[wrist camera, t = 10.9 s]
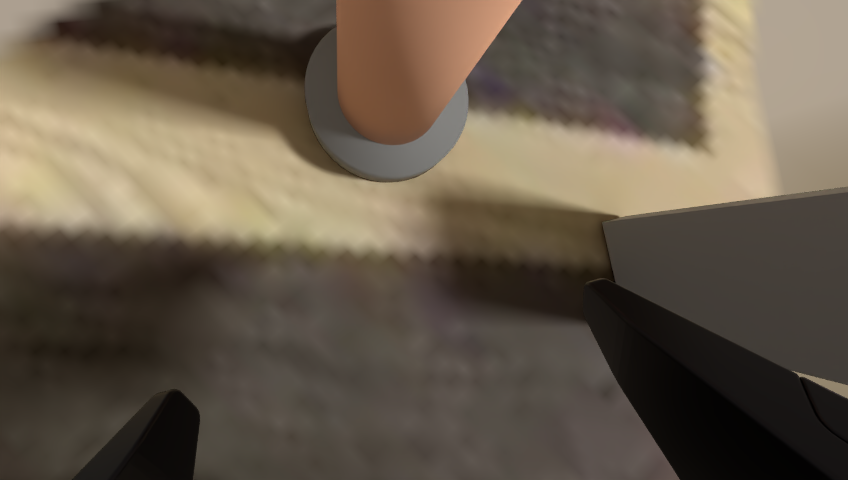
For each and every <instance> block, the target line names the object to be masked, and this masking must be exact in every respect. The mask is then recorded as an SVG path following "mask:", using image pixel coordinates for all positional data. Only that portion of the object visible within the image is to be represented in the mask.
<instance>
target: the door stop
mask: <svg viewBox="0 0 848 480" xmlns="http://www.w3.org/2000/svg"><path fill="white" fill-rule="evenodd" d="M521 1H522V0H337V26H336V27H334V28H333V29H332V30H330V31H329V32H328V33H327V34H326V35H325V36H324V37H323V38H322V39H321V41H320V42H319V44H318V45H317V46H316V48H315V50H314V52H313V53H312V55H311V58H310V60H309V63H308V66H307V70H306V75H305V100H306V105H307V109H308V114H309V118H310V123H311V126H312V128H313V131H314V134H315V136H316V137H317V139H318V141H319V143H320V144H321V146H322V147H323V149H324V150H325V151H326V152H327V154H328V155H329V156H330V157H331V158H332V159H333V160H334V161H335V162H337V163H338V164H339V165H340V166H342V167H343V168H344V169H346V170H347V171H349V172H351V173H353V174H355V175H357V176H360V177H362V178H365V179H368V180H373V181H378V182H399V181H405V180H409V179H412V178H415V177H417V176H419V175H421V174H423V173H425V172H427V171H428V170H430V169H431V168H432V167H434V166H435V165H436V164H437V163H438V162H439V161H440V160H441V159H442V158H444V157H445V156H446V155H447V154H448V153H449V151H450V150H451V149H452V148H453V147H454V145H455V144H456V142H457V141H458V139H459V137H460V135H461V133H462V131H463V129H464V126H465V122H466V119H467V113H468V89H467V85H466V80H465V79H466V77H467V76H468V75H469V73H470V72H471V71H472V69H473V68H474V66H475V65H476V64H477V62H478V61H479V59H480V58H481V57H482V55H483V54H484V52H485V51H486V50H487V48H488V47H489V45H490V44H491V43H492V41H493V40H494V38H495V37H496V36H497V34H498V33H499V32H500V30H501V29H502V27H503V26H504V25H505V23H506V22H507V20H508V19H509V18H510V16H511V15H512V13H513V12H514V11H515V9H516V8H517V6H518V5H519V4H520V2H521Z"/></svg>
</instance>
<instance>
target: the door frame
mask: <svg viewBox="0 0 848 480" xmlns="http://www.w3.org/2000/svg"><path fill="white" fill-rule="evenodd" d="M602 225H603V229H604V233H605V238H606V242H607V247H608V251H609V256H610V260H611V265H612V269H613V274H614V278H615V282H616V284H618V285H620V286H622V287H624V288H626V289H628V290H630V291H632V292H634V293H636V294H638V295H640V296H642V297H644V298H646V299H648V300H650V301H652V302H654V303H656V304H658V305H660V306H662V307H664V308H666V309H668V310H670V311H672V312H674V313H676V314H678V315H680V316H682V317H684V318H686V319H688V320H690V321H692V322H694V323H696V324H698V325H700V326H702V327H704V328H706V329H708V330H710V331H712V332H714V333H716V334H718V335H720V336H722V337H724V338H726V339H728V340H730V341H732V342H734V343H736V344H738V345H740V346H742V347H744V348H746V349H748V350H750V351H752V352H754V353H756V354H758V355H760V356H762V357H764V358H766V359H768V360H770V361H772V362H774V363H776V364H778V365H780V366H782V367H784V368H786V369H788V370H791V371H795V372H799V373H803V374H806V375H810V376H815V377H818V378H822V379H826V380H830V381H834V382H838V383H842V384H846V385H848V187H842V188H834V189H827V190H819V191H812V192H804V193H797V194H790V195H781V196H774V197H766V198H759V199H751V200H744V201H736V202H729V203H721V204H714V205H706V206H699V207H691V208H684V209H676V210H669V211H661V212H653V213H646V214H638V215H631V216H625V217H621V218H617V219H613V220H609V221H605V222H602Z"/></svg>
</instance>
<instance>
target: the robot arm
mask: <svg viewBox="0 0 848 480" xmlns="http://www.w3.org/2000/svg"><path fill="white" fill-rule="evenodd" d="M583 313H584V316H585V319H586V321H587V323H588V325H589V327H590V329H591V331H592V333H593V335H594V337H595V339H596V341H597V343H598V345H599V347H600V349H601V351H602V353H603V355H604V357H605V359H606V361H607V363H608V365H609V367H610V369H611V371H612V373H613V375H614V377H615V378H616V380H617V382H618V384H619V385H620V387H621V389H622V390H623V392H624V393H625V395H626V397H627V398H628V400H629V401H630V403H631V404H632V406H633V407H634V409H635V410H636V412H637V414H638V415H639V417H640V418H641V420H642V421H643V423H644V424H645V426H646V428H647V429H648V431H649V432H650V434H651V435H652V437H653V438H654V440H655V442H656V443H657V445H658V446H659V448H660V449H661V451H662V452H663V454H664V455H665V457H666V459H667V460H668V462H669V463H670V465H671V466H672V468H673V469H674V471H675V473H676V474H677V476H678V477H679V479H680V480H848V399H847V398H845V397H843V396H841V395H839V394H837V393H835V392H833V391H831V390H829V389H827V388H825V387H822V386H820V385H819V384H816V383H815V382H813V381H811V380H809V379H807V378H805V377H800V378H799V376H798V375H797V374H796V373H794V372H792V371H790V370H788V369H786V368H784V367H782V366H780V365H778V364H776V363H774V362H772V361H770V360H768V359H766V358H764V357H762V356H760V355H758V354H756V353H754V352H752V351H750V350H748V349H746V348H744V347H742V346H740V345H738V344H736V343H734V342H732V341H730V340H728V339H726V338H724V337H722V336H720V335H718V334H716V333H714V332H712V331H710V330H708V329H706V328H704V327H702V326H700V325H698V324H696V323H694V322H692V321H690V320H688V319H686V318H684V317H682V316H680V315H678V314H676V313H674V312H672V311H670V310H668V309H666V308H664V307H662V306H660V305H658V304H656V303H654V302H652V301H650V300H648V299H646V298H644V297H642V296H640V295H638V294H636V293H634V292H632V291H630V290H628V289H626V288H624V287H622V286H620V285H618V284H616V283H614V282H612V281H610V280H608V279H605V278H601V279H597V280H593V281H589V282H587V283H586V284H585V285H584V296H583ZM199 424H200V414H199V411H198V409H197V408H196V406H195V405H194V404H193V403H192V402H191V401H190V400H189V399H188V398H187V397H186V396H185V395H184V394H183V393H182V392H181V391H180V390H177V389H172V390H168V391H164V392H160V393H157V394H155V395H154V396H153V397H152V398H151V399H150V400H149V401H148V402H147V403H146V404H145V405H144V406H143V407H142V408H141V409H140V410H139V411H138V412H137V413H136V414H135V415H134V416H133V417H132V418H131V419H130V420H129V421H128V422H127V423H126V424H125V425H124V426H123V428H122V429H121V430H120V431H119V432H118V433H117V434H116V435H115V436H114V437H113V438H112V439H111V440H110V441H109V442H108V443H107V444H106V445H105V446H104V447H103V448H102V449H101V450H100V451H99V452H98V453H97V454H96V455H95V456H94V457H93V458H92V459H91V461H90V462H89V463H88V464H87V465H86V466H85V467H84V468H83V469H82V470H81V471H80V472H79V473H78V474H77V475H76V476H75V477H74V478H73V479H72V480H193V475H194V466H195V458H196V450H197V441H198V433H199Z"/></svg>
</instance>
